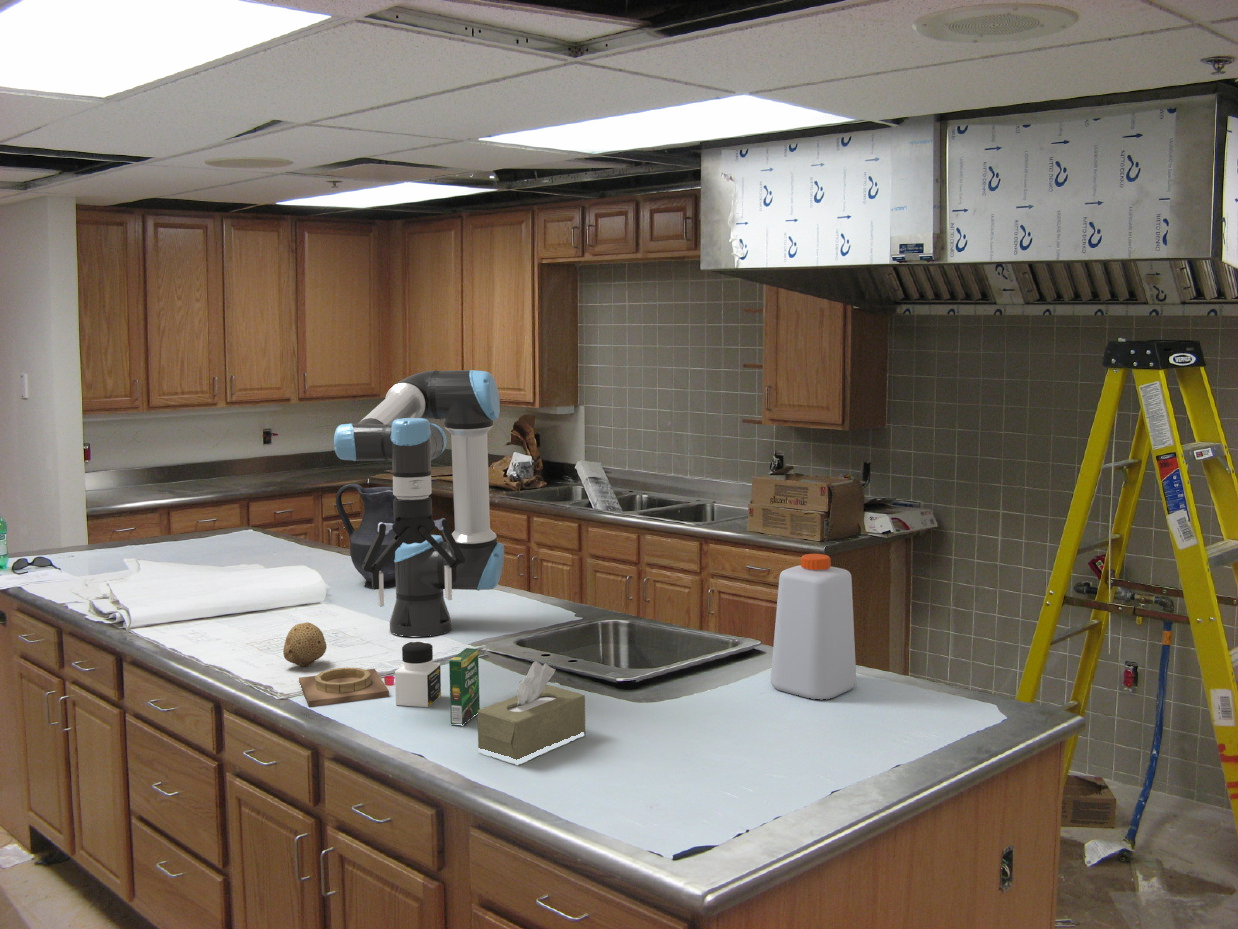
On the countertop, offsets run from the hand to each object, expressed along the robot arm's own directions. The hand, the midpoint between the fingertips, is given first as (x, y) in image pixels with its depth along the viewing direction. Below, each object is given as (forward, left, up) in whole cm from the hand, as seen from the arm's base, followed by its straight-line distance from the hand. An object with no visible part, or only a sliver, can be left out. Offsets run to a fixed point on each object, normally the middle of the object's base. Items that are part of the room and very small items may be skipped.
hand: (415, 601), depth 221 cm
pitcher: (-10, -104, -21) cm, 107 cm away
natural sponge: (+18, -32, -21) cm, 42 cm away
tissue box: (-14, +31, -21) cm, 40 cm away
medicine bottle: (0, 0, -21) cm, 21 cm away
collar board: (+13, -13, -21) cm, 27 cm away
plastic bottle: (-78, +24, -21) cm, 84 cm away
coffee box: (-6, +14, -21) cm, 26 cm away
